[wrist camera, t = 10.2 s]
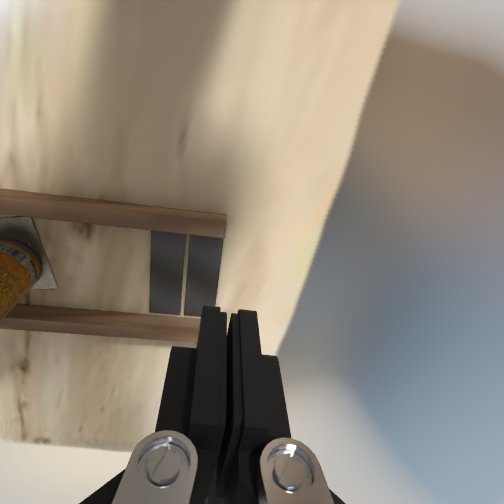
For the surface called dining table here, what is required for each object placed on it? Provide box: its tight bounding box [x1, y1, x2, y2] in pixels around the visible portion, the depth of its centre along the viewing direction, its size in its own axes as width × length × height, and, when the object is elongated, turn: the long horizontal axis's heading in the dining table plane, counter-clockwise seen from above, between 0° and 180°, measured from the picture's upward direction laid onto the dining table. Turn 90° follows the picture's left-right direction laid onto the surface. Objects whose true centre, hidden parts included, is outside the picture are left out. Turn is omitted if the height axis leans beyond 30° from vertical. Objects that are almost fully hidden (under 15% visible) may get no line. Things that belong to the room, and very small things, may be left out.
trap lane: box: [0, 189, 226, 343], centre depth 37 cm, size 15×30×3 cm, turn 82°
